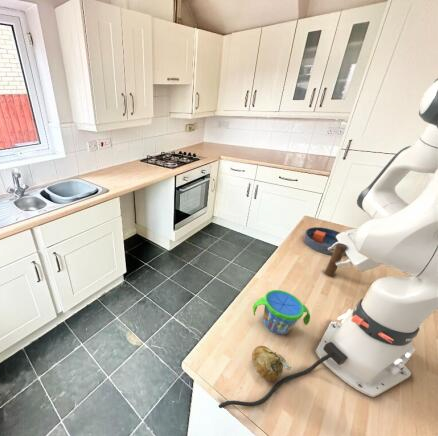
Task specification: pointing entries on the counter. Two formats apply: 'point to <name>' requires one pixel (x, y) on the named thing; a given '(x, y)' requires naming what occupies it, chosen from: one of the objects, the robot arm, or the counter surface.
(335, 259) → the stick
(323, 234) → the block
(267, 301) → the snack cup
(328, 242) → the bowl
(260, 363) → the onion
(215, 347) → the counter surface
